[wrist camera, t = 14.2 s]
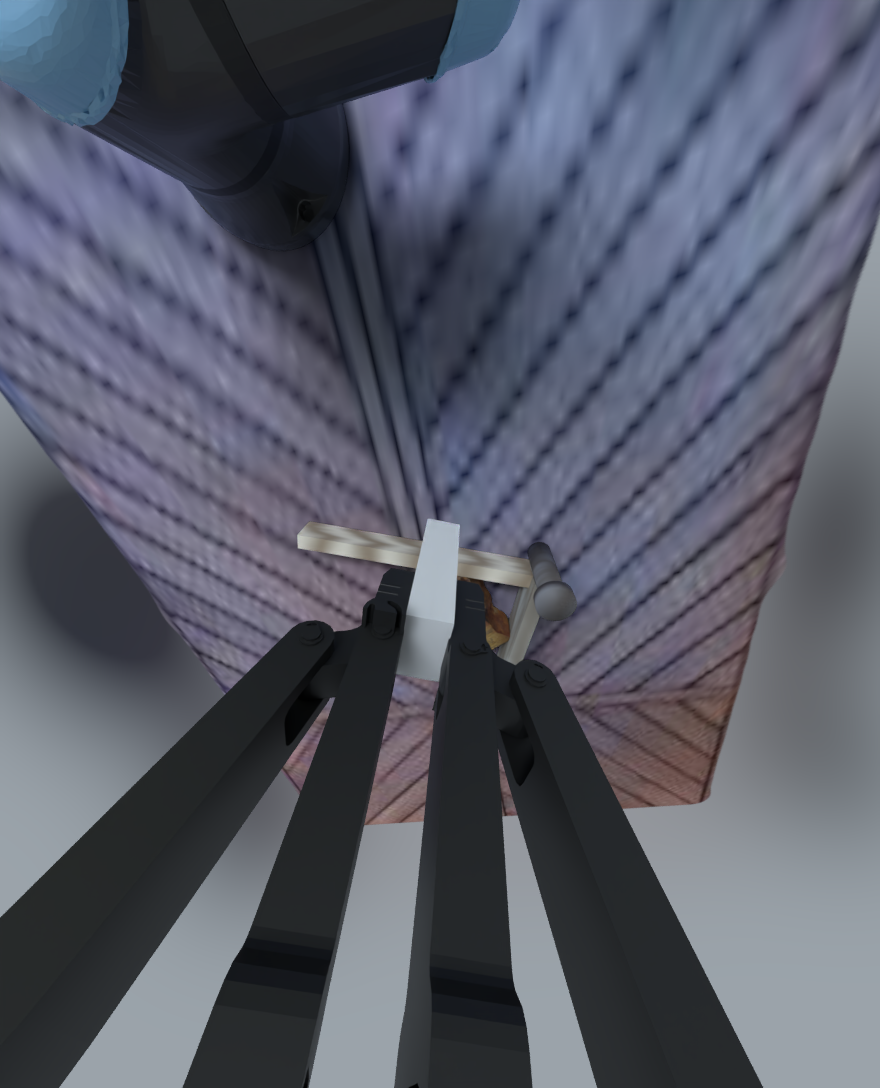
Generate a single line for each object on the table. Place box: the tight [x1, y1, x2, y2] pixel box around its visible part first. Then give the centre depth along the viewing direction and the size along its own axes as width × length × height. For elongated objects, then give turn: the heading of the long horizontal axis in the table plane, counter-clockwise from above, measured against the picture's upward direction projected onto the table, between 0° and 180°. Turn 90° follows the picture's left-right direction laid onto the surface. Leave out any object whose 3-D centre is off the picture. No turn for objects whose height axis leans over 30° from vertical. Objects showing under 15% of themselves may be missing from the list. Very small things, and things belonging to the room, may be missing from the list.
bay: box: [297, 521, 577, 665], centre depth 50 cm, size 34×26×12 cm
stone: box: [457, 576, 510, 649], centre depth 53 cm, size 15×9×5 cm, turn 30°
